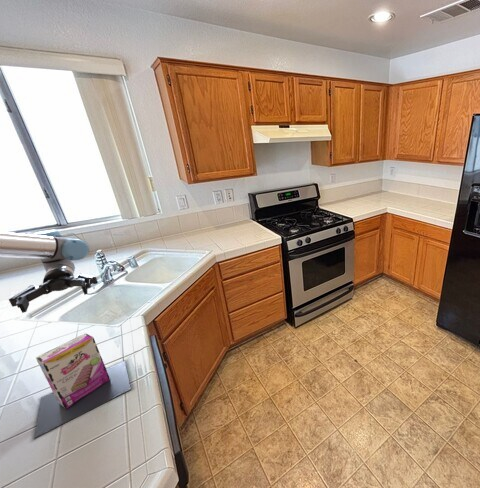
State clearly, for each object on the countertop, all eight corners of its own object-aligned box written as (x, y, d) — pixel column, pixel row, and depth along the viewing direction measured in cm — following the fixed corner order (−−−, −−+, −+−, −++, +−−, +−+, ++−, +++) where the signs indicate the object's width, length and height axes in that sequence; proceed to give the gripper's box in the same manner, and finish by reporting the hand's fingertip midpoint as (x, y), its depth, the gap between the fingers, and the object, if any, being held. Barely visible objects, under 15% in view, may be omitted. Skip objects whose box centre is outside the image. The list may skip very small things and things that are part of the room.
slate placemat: (34, 438, 65) (34, 437, 65) (41, 398, 76) (41, 397, 76) (131, 389, 77) (130, 389, 77) (124, 361, 89) (124, 360, 89)
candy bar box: (66, 410, 72) (41, 363, 66) (58, 403, 74) (33, 357, 69) (112, 379, 81) (93, 336, 76) (103, 374, 83) (85, 331, 78)
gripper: (106, 275, 103) (110, 294, 88) (12, 300, 88) (-2, 328, 72) (99, 258, 101) (103, 274, 85) (2, 280, 85) (-15, 305, 70)
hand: (55, 299), depth 79 cm, fingers open, 13 cm apart
